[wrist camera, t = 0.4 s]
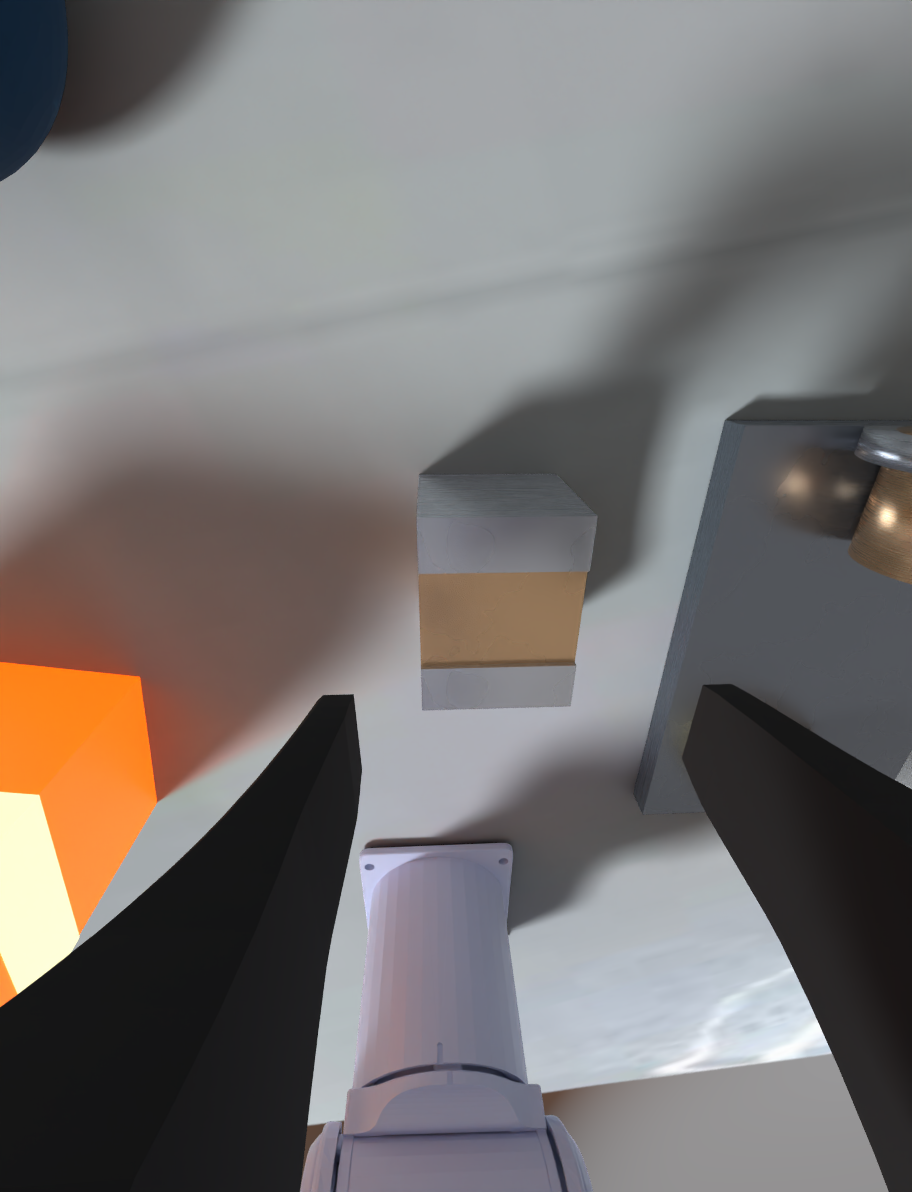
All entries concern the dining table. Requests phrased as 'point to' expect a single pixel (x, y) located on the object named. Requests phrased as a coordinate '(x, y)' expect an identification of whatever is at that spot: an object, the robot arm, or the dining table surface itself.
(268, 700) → the dining table surface
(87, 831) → the orange juice
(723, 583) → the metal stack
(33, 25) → the christmas ornament
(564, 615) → the block
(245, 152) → the dining table surface
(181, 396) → the dining table surface
